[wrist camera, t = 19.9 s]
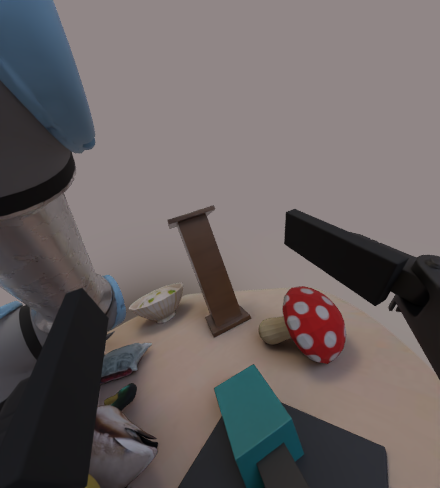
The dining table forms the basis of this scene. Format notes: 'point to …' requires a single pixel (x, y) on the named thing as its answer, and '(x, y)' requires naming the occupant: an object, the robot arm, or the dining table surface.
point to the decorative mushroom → (308, 325)
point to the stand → (209, 271)
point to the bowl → (159, 303)
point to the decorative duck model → (119, 443)
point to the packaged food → (122, 361)
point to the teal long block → (260, 432)
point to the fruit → (92, 482)
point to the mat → (310, 464)
